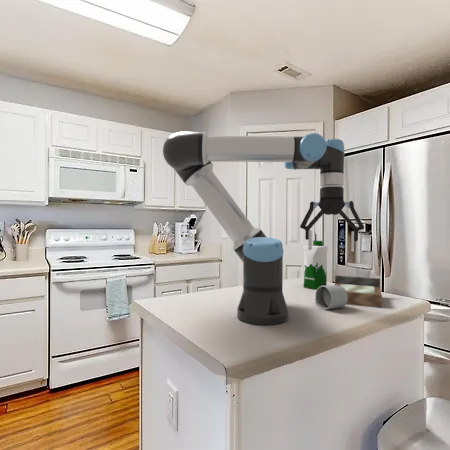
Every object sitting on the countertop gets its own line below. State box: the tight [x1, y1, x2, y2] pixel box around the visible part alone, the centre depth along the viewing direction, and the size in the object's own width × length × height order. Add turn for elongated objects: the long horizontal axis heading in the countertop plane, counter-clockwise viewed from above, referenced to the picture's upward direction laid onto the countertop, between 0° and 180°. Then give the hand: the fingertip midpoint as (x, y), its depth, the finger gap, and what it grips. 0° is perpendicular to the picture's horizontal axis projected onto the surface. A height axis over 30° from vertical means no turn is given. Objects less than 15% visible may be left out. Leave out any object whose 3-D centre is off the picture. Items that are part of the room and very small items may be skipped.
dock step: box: [333, 275, 383, 308], centre depth 118 cm, size 16×16×7 cm
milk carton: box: [302, 240, 329, 291], centre depth 138 cm, size 9×9×20 cm
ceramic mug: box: [314, 285, 348, 311], centre depth 108 cm, size 11×8×8 cm
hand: (330, 250), depth 108 cm, fingers open, 13 cm apart
